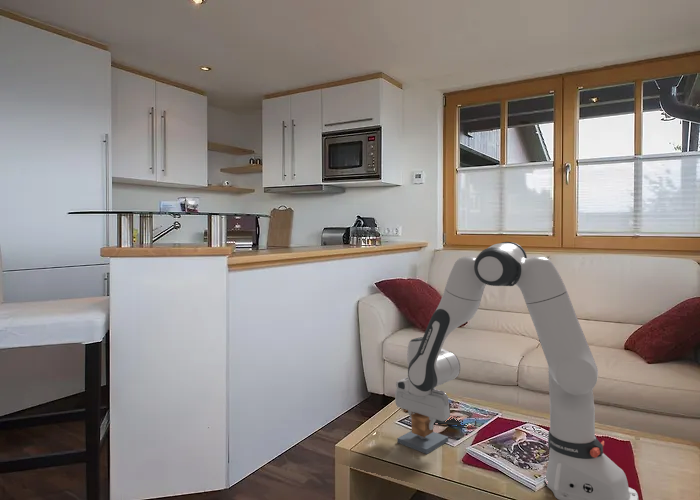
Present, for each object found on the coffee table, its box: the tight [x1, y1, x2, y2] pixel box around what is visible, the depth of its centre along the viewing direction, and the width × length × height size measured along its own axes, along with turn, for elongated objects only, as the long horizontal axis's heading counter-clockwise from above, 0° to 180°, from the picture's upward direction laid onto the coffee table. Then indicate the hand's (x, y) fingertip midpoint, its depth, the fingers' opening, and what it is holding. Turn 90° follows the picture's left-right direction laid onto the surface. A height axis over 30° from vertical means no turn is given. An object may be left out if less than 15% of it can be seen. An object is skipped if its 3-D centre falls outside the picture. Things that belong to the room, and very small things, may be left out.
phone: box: [434, 414, 478, 427], centre depth 173 cm, size 8×1×15 cm
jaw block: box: [411, 413, 434, 437], centre depth 158 cm, size 5×5×6 cm
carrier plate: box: [396, 430, 449, 455], centre depth 158 cm, size 12×12×4 cm
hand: (422, 426), depth 158 cm, fingers closed on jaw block, 5 cm apart
